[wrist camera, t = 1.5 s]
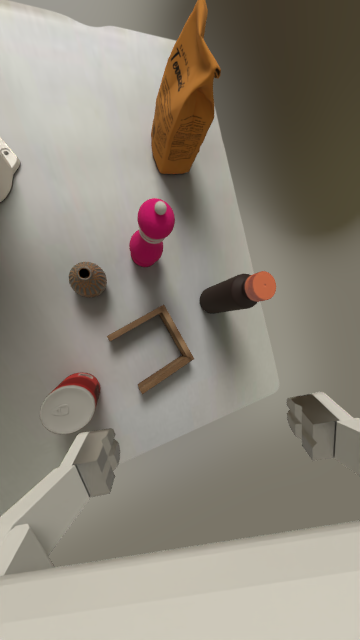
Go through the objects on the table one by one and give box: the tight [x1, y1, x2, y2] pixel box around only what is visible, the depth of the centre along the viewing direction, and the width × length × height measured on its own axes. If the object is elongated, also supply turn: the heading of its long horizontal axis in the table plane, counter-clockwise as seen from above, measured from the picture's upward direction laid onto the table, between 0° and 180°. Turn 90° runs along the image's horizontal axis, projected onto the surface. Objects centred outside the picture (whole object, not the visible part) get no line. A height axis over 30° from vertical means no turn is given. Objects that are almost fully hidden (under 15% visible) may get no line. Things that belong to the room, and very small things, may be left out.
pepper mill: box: [130, 198, 175, 267], centre depth 37 cm, size 7×7×20 cm
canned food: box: [40, 373, 100, 434], centre depth 37 cm, size 8×8×11 cm
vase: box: [69, 262, 107, 297], centre depth 39 cm, size 7×7×9 cm
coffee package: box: [151, 0, 221, 174], centre depth 39 cm, size 10×12×22 cm
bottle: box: [200, 271, 276, 313], centre depth 42 cm, size 7×7×20 cm
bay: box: [107, 305, 194, 394], centre depth 45 cm, size 14×14×4 cm
